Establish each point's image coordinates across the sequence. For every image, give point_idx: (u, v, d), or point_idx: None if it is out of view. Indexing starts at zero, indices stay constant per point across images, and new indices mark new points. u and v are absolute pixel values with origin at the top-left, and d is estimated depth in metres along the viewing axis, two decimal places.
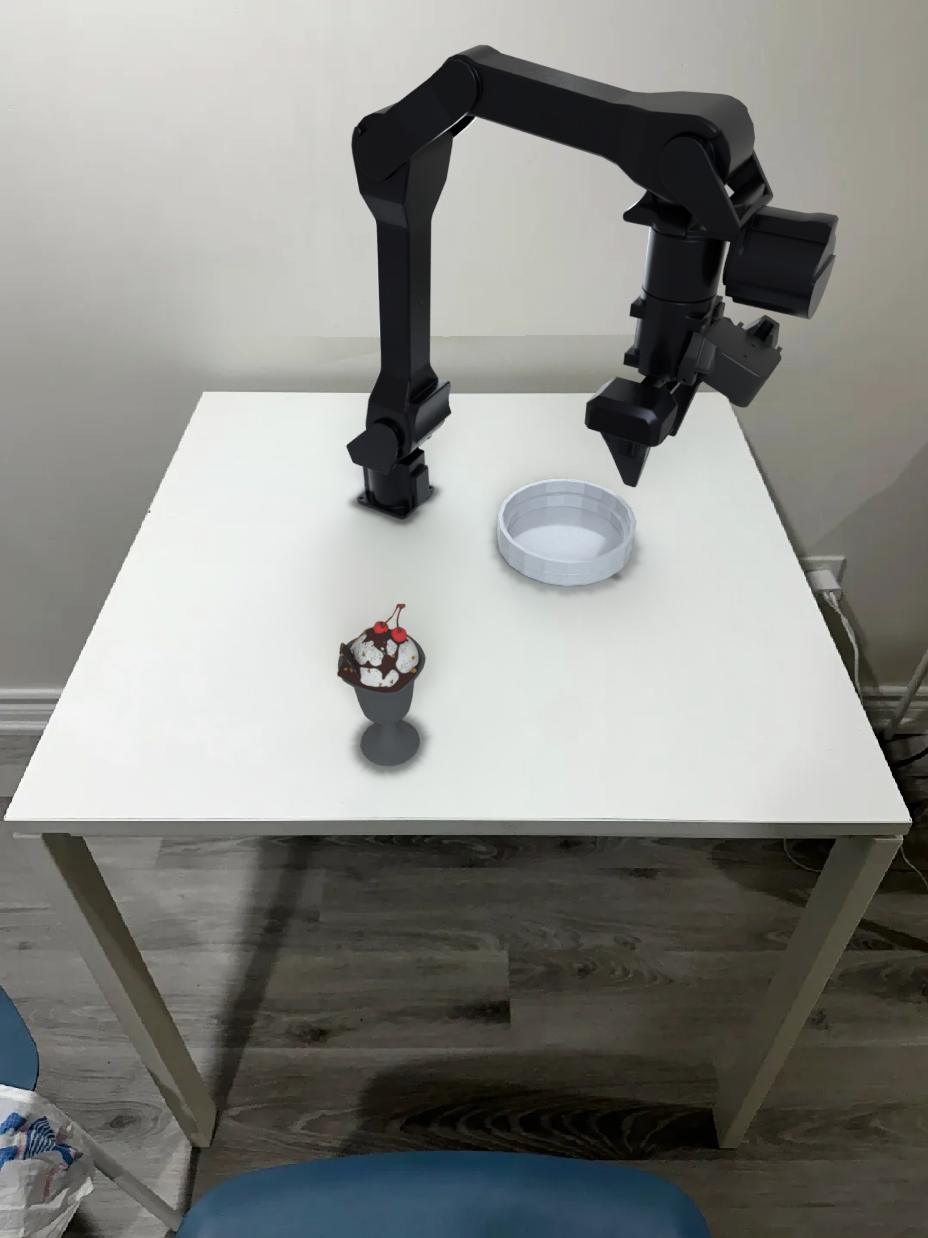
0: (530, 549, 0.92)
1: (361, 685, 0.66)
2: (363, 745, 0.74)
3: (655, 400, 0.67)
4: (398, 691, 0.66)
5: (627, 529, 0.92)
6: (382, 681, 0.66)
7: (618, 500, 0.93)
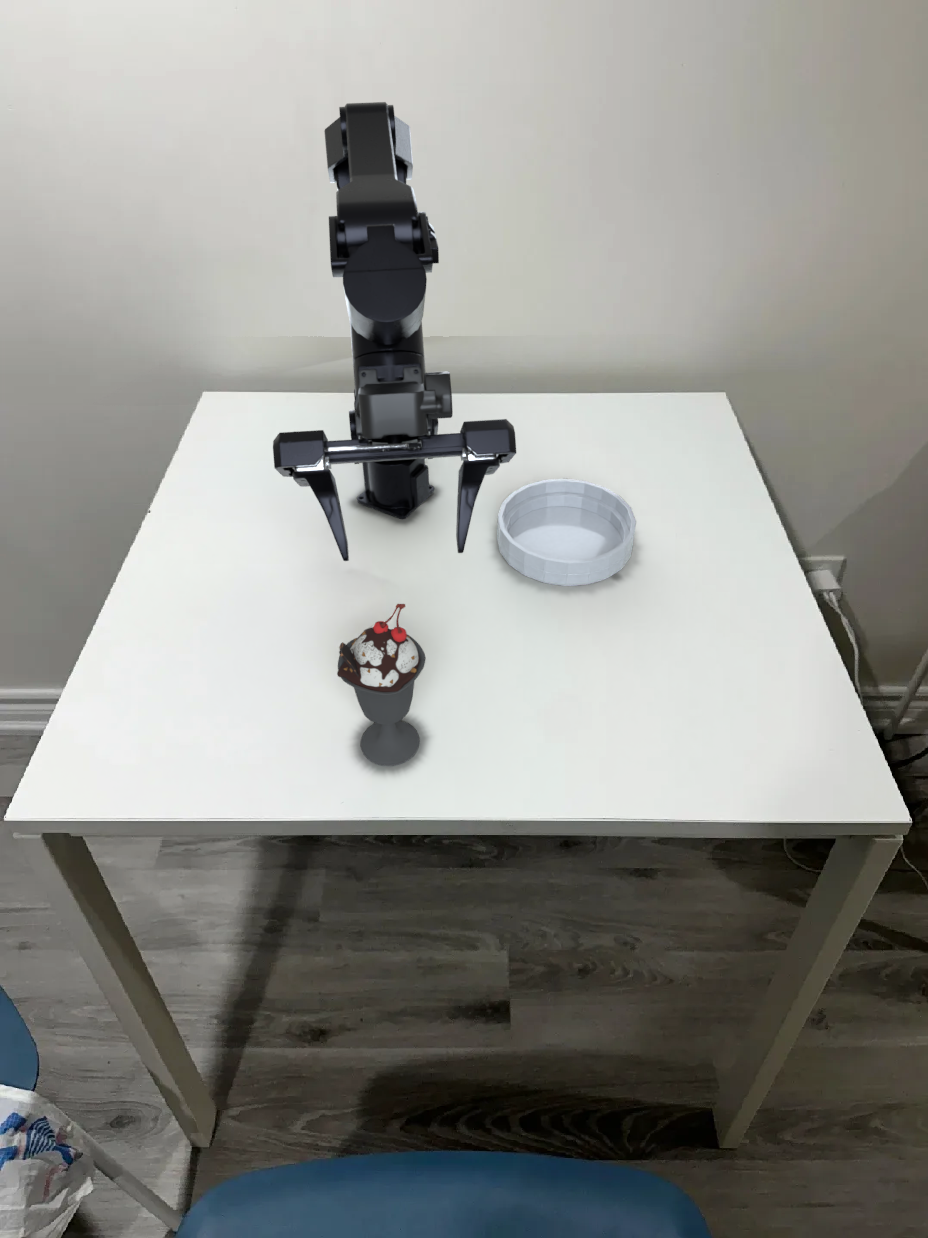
0: (530, 549, 0.92)
1: (361, 685, 0.66)
2: (363, 745, 0.74)
3: (298, 432, 0.68)
4: (398, 691, 0.66)
5: (627, 529, 0.92)
6: (382, 681, 0.66)
7: (618, 500, 0.93)
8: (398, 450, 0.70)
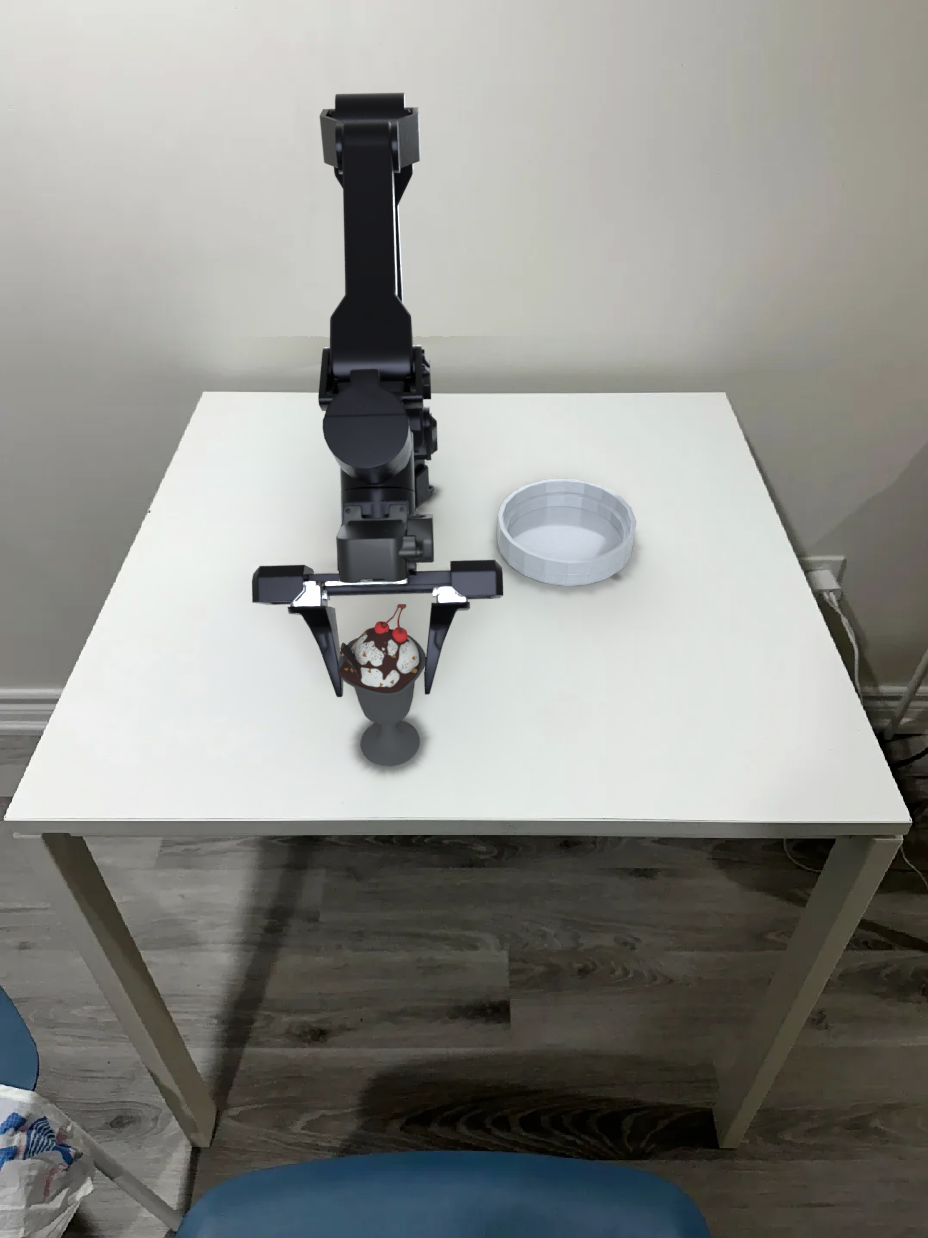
0: (530, 549, 0.92)
1: (362, 685, 0.66)
2: (363, 745, 0.74)
3: (279, 565, 0.67)
4: (399, 691, 0.66)
5: (627, 529, 0.92)
6: (383, 681, 0.66)
7: (618, 500, 0.93)
8: (367, 586, 0.68)
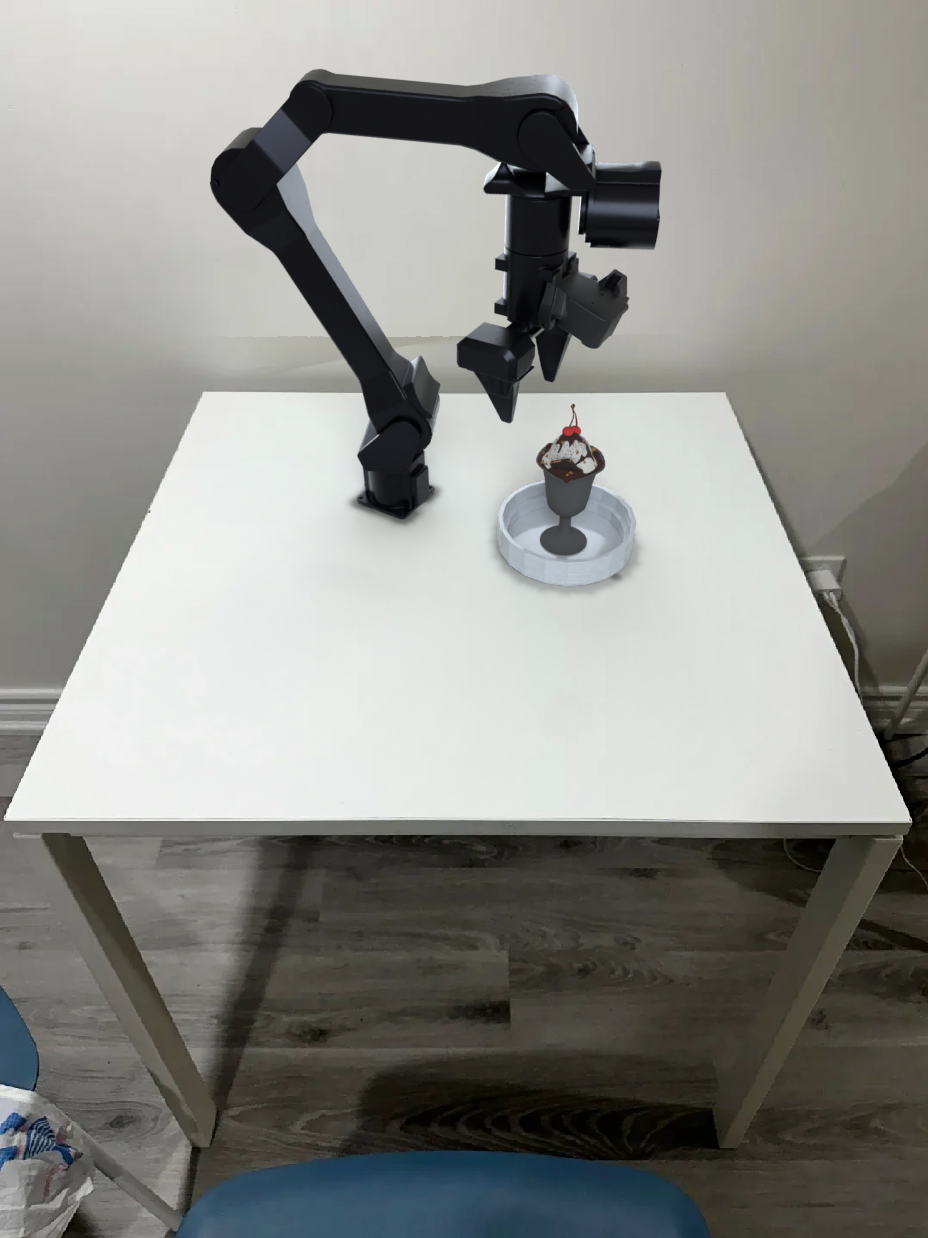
0: (530, 549, 0.92)
1: (587, 474, 0.84)
2: (557, 551, 0.91)
3: (513, 341, 0.77)
4: (604, 463, 0.86)
5: (627, 529, 0.92)
6: (594, 463, 0.85)
7: (618, 500, 0.93)
8: None
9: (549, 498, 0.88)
